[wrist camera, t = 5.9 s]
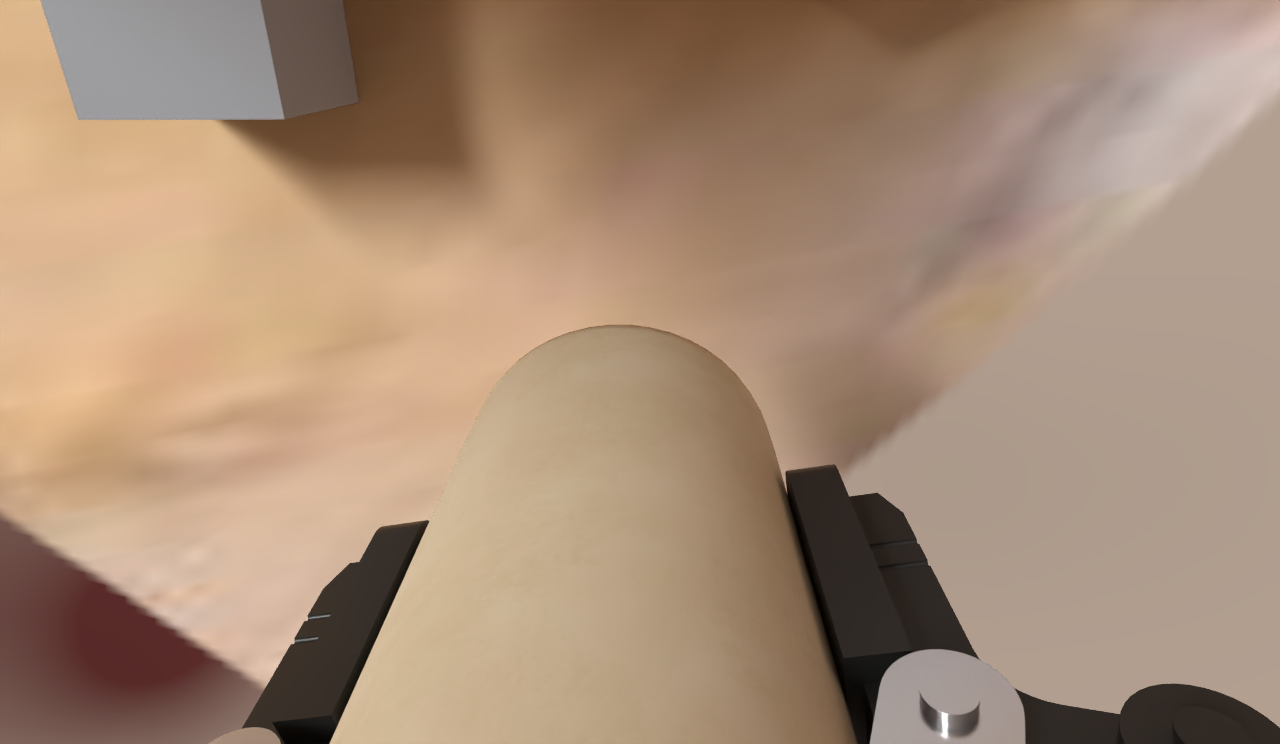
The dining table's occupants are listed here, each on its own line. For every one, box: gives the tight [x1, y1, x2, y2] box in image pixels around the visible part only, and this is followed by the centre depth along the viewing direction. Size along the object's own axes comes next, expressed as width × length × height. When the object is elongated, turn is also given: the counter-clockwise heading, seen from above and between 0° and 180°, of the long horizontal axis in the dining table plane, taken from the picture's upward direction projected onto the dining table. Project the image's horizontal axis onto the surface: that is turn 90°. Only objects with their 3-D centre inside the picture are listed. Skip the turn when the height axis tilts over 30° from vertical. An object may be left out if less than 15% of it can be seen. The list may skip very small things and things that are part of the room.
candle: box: [330, 325, 858, 744], centre depth 9 cm, size 6×6×10 cm
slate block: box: [41, 0, 359, 120], centre depth 18 cm, size 5×5×5 cm
